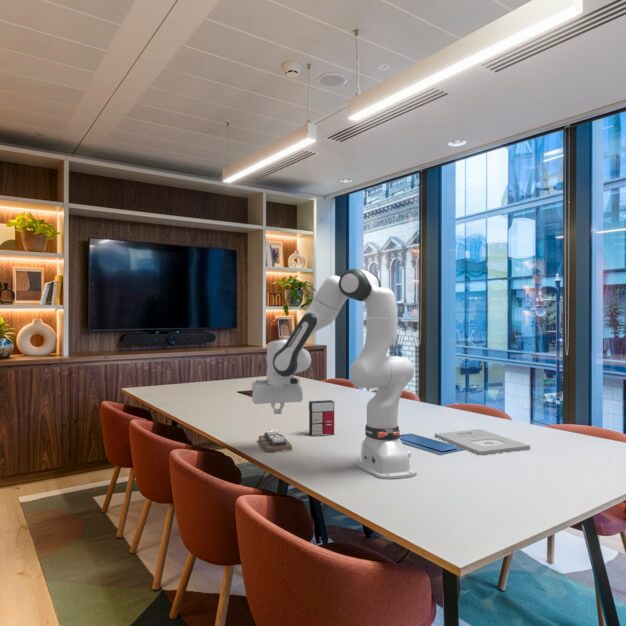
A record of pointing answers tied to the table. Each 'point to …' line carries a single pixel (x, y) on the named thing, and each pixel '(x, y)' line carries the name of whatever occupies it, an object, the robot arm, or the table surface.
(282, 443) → the key panel
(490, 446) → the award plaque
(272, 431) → the key two
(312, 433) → the calculator
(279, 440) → the key three
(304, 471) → the table surface
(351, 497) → the table surface
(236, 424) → the table surface
